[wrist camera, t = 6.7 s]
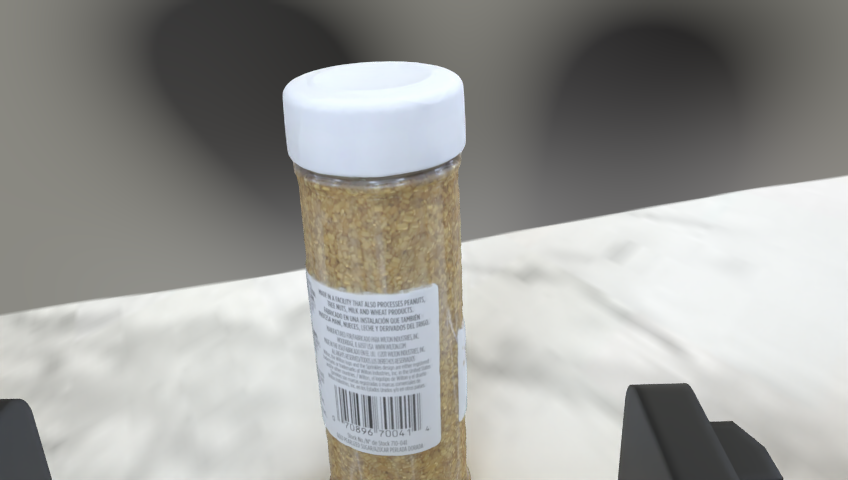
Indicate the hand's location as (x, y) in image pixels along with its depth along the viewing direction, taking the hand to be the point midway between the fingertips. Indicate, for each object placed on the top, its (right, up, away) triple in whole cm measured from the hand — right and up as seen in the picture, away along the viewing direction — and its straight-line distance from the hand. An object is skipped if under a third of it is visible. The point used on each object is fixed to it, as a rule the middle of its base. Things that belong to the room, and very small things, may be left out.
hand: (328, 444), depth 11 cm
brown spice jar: (0, -5, +15) cm, 16 cm away
